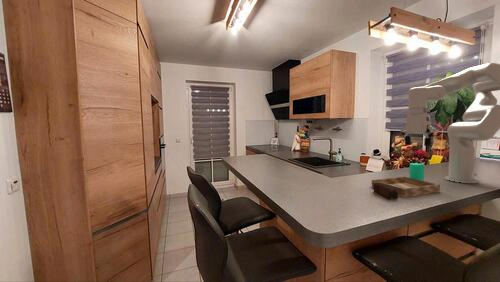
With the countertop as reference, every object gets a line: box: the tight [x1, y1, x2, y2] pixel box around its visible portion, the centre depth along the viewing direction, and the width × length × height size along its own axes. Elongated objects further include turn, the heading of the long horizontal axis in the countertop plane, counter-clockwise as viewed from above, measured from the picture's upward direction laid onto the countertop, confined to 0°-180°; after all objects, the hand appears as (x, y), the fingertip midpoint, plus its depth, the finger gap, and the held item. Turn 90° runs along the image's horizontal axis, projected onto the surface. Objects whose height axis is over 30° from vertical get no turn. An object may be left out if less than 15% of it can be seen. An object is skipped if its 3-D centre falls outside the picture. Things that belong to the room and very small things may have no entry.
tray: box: [371, 175, 441, 198], centre depth 101 cm, size 21×17×3 cm
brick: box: [372, 183, 399, 201], centre depth 92 cm, size 11×4×5 cm, turn 4°
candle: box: [408, 162, 425, 181], centre depth 109 cm, size 6×6×12 cm
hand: (417, 145), depth 108 cm, fingers open, 9 cm apart
